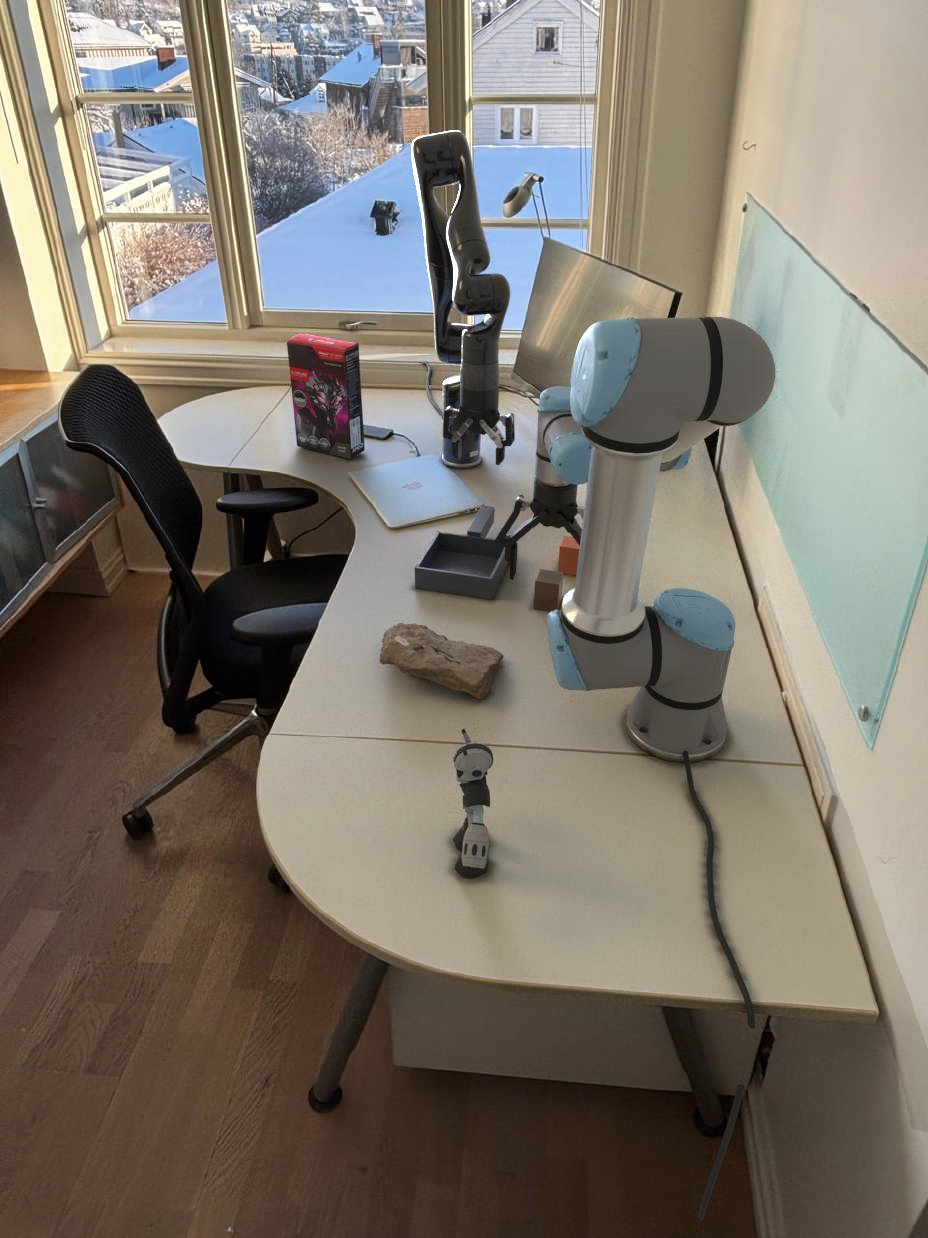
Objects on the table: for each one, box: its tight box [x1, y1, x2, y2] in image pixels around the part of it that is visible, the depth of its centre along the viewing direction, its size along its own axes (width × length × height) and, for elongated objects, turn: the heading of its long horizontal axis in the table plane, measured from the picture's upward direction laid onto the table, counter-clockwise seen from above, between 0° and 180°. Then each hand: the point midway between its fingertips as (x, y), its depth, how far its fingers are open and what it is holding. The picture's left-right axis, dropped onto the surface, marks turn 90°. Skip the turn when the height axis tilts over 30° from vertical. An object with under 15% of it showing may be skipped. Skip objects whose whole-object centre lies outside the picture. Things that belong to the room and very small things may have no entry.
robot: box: [452, 728, 494, 879], centre depth 116 cm, size 20×5×20 cm, turn 3°
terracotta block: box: [557, 535, 580, 576], centre depth 182 cm, size 4×4×6 cm
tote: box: [414, 504, 510, 600], centre depth 185 cm, size 27×15×6 cm, turn 165°
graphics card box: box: [286, 332, 366, 459], centre depth 224 cm, size 17×7×27 cm, turn 62°
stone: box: [379, 622, 505, 699], centre depth 153 cm, size 21×15×6 cm
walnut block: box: [533, 568, 564, 612], centre depth 171 cm, size 4×4×6 cm
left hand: (478, 460), depth 186 cm, fingers open, 8 cm apart
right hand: (548, 581), depth 171 cm, fingers open, 13 cm apart
